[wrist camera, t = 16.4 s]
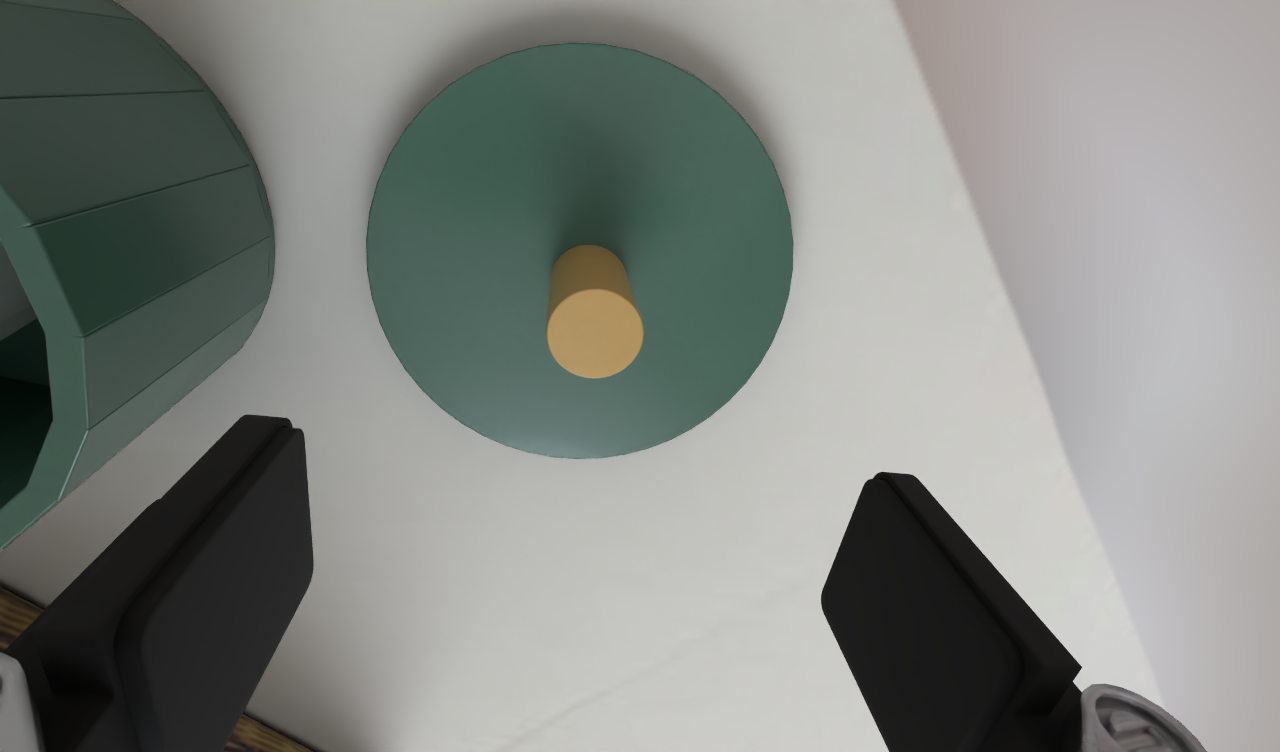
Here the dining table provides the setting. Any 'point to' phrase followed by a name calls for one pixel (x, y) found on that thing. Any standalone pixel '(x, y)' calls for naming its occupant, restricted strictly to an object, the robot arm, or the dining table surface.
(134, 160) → the tin
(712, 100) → the lid
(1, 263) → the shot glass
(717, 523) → the dining table surface
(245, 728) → the basket
